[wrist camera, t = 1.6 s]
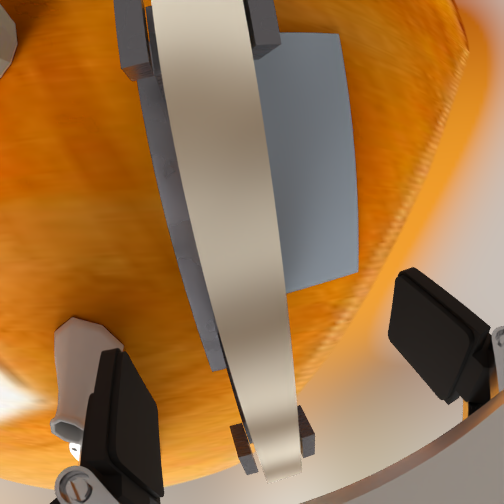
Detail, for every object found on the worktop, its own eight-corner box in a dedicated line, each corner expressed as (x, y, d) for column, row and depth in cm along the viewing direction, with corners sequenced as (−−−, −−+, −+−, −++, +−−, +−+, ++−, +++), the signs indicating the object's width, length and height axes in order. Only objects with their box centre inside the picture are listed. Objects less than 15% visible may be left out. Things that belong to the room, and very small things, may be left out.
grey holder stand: (268, 347, 30) (322, 459, 18) (210, 363, 29) (241, 484, 17) (217, 34, 18) (277, -63, 6) (134, 50, 17) (91, -40, 5)
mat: (352, 267, 28) (358, 271, 28) (278, 289, 27) (282, 294, 26) (332, 36, 20) (338, 34, 19) (241, 38, 18) (244, 34, 17)
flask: (106, 385, 27) (99, 465, 18) (45, 352, 24) (18, 431, 15) (137, 341, 26) (133, 430, 17) (68, 303, 23) (34, 385, 14)
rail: (288, 441, 20) (302, 472, 17) (256, 451, 19) (267, 483, 17) (213, -33, 8) (228, -71, 5) (149, -24, 7) (145, -62, 5)
